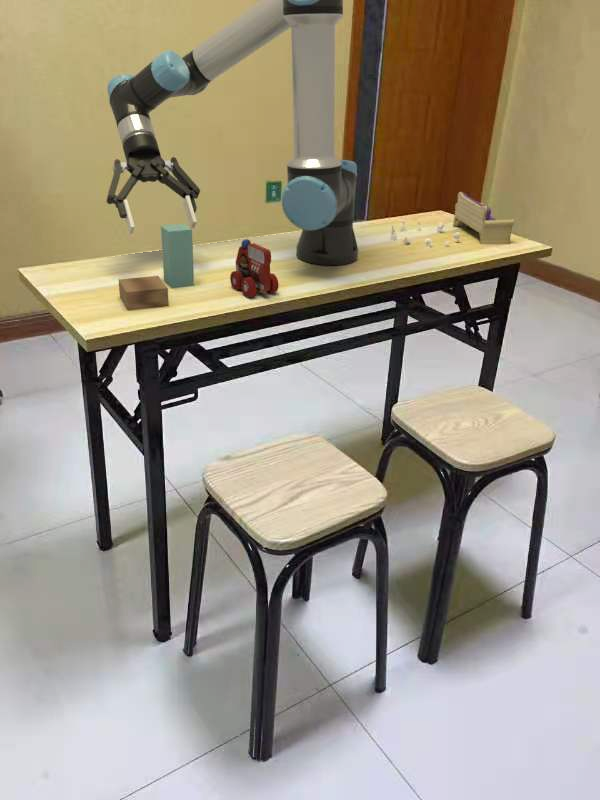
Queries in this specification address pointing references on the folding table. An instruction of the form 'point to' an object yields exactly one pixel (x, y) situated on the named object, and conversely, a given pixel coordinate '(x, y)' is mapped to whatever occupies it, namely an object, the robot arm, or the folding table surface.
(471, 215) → the toy sofa
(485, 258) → the folding table surface
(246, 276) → the toy fire truck
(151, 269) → the folding table surface
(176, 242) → the pillar
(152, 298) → the slab
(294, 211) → the robot arm
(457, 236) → the game piece set
